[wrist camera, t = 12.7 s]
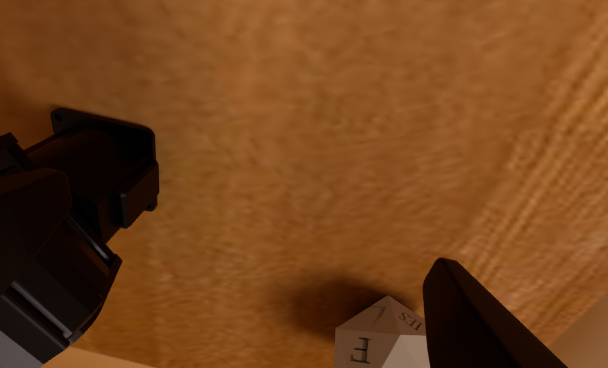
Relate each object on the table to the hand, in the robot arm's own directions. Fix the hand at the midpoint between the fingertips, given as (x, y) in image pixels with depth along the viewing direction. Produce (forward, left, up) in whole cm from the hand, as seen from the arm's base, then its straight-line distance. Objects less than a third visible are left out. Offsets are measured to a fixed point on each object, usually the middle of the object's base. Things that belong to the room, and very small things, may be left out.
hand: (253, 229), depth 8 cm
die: (+11, -18, -13) cm, 25 cm away
